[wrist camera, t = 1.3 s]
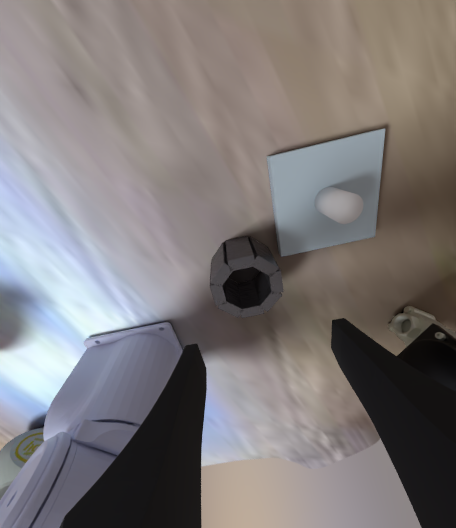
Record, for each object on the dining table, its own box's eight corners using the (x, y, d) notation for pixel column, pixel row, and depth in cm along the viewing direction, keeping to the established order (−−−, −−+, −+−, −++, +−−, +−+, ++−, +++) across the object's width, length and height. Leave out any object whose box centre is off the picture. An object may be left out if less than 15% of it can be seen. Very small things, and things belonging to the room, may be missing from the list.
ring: (220, 294, 22) (220, 322, 18) (206, 245, 19) (203, 265, 16) (274, 283, 21) (285, 309, 18) (266, 231, 19) (278, 249, 15)
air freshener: (17, 446, 32) (-59, 557, 23) (16, 415, 29) (-74, 531, 20) (95, 455, 34) (53, 561, 26) (102, 427, 31) (56, 537, 22)
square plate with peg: (278, 252, 20) (292, 273, 16) (266, 156, 16) (280, 157, 13) (367, 232, 19) (401, 250, 16) (375, 129, 16) (422, 123, 12)
